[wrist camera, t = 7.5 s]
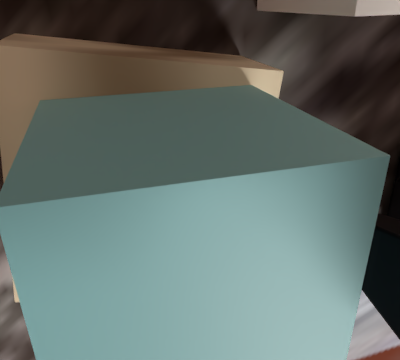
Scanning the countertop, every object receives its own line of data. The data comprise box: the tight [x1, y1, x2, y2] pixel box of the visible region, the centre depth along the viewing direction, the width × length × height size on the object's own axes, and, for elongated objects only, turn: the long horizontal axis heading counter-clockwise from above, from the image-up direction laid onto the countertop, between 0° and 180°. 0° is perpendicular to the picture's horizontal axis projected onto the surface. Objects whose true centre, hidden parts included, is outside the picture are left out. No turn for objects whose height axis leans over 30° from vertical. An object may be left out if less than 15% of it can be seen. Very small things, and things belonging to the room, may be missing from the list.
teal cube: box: [0, 85, 390, 360], centre depth 9 cm, size 6×6×6 cm
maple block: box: [0, 33, 284, 302], centre depth 14 cm, size 8×8×4 cm
